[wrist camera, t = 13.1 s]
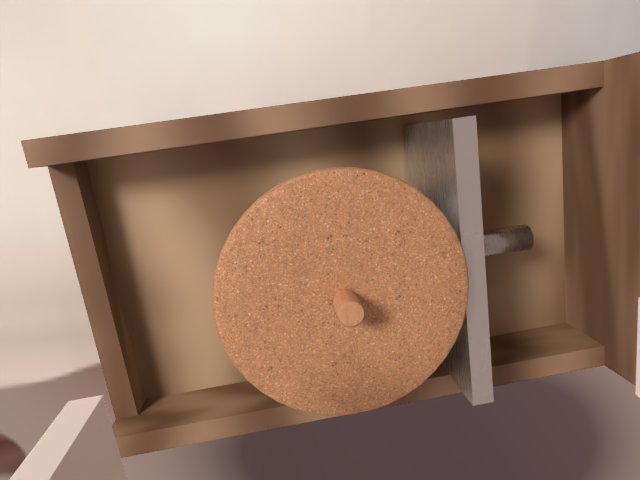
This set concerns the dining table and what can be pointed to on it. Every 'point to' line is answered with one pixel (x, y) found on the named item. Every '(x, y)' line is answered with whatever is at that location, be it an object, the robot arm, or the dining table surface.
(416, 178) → the pusher
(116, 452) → the robot arm
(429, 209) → the lidded jar
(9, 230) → the dining table surface
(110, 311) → the wooden tray
